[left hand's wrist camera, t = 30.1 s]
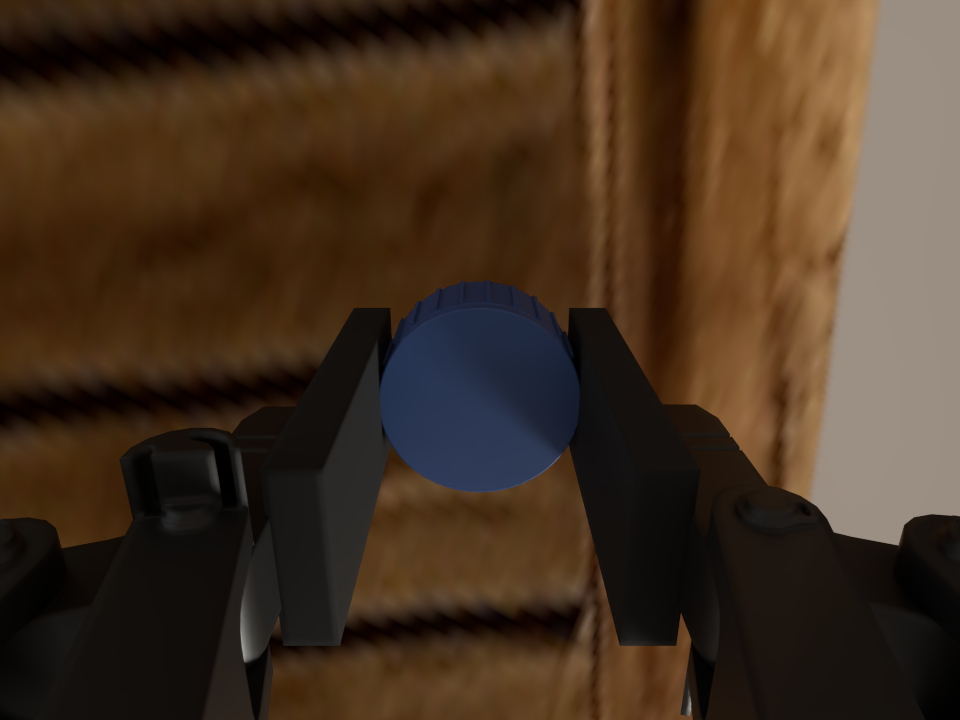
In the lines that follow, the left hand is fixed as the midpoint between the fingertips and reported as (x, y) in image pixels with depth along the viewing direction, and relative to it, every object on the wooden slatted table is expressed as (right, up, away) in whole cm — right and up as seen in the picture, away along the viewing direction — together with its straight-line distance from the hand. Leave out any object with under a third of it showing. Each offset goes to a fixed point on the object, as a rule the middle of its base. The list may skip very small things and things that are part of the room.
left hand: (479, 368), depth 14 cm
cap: (0, -1, -2) cm, 2 cm away
